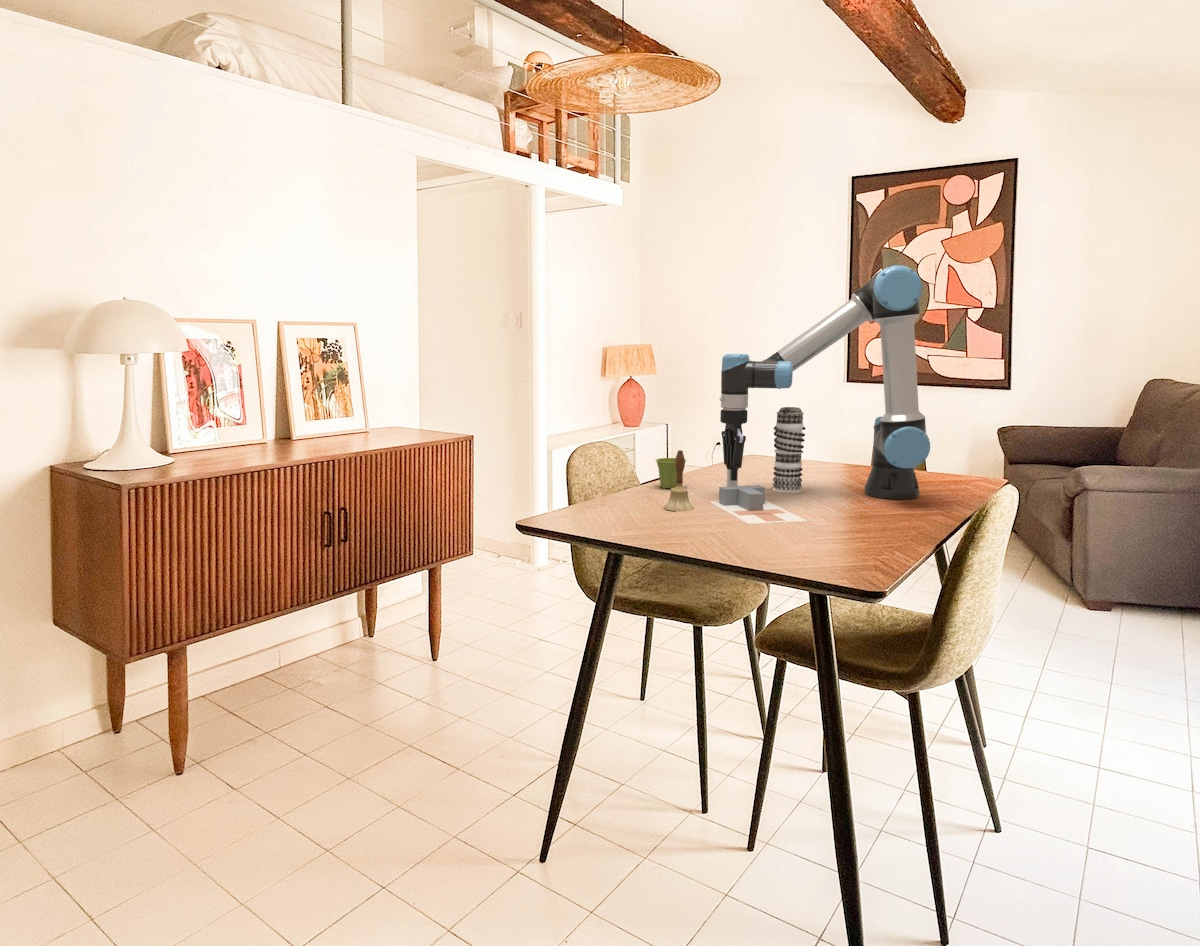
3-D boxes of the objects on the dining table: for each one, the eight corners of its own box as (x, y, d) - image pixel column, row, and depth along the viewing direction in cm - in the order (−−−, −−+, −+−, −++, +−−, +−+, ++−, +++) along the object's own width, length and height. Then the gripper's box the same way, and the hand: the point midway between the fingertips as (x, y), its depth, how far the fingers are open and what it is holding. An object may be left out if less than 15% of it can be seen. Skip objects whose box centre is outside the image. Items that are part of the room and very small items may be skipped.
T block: (759, 500, 235) (759, 485, 234) (777, 509, 223) (777, 493, 223) (718, 502, 232) (719, 486, 232) (734, 511, 221) (735, 494, 220)
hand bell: (700, 508, 226) (701, 450, 223) (681, 513, 220) (682, 453, 217) (676, 504, 232) (677, 447, 229) (657, 508, 226) (657, 450, 223)
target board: (762, 499, 237) (762, 499, 237) (807, 521, 210) (807, 520, 210) (709, 502, 234) (709, 501, 234) (748, 524, 207) (748, 523, 207)
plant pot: (649, 486, 259) (650, 458, 257) (676, 483, 262) (676, 456, 261) (664, 491, 250) (665, 462, 249) (691, 488, 254) (692, 460, 253)
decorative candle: (778, 486, 258) (781, 405, 254) (807, 489, 253) (811, 407, 249) (766, 490, 251) (769, 408, 247) (795, 494, 245) (798, 409, 241)
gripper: (713, 407, 240) (711, 487, 244) (729, 411, 228) (727, 496, 232) (738, 406, 242) (735, 486, 246) (755, 410, 229) (753, 494, 233)
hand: (731, 491), depth 239 cm, fingers closed
